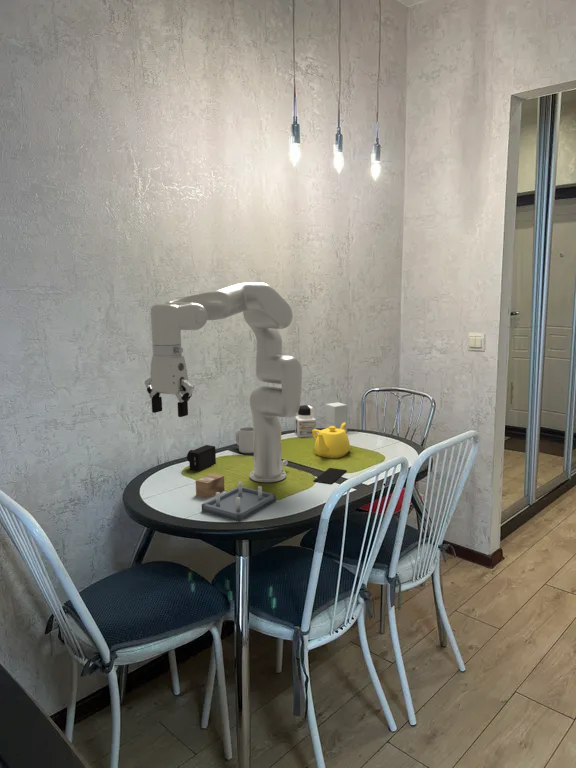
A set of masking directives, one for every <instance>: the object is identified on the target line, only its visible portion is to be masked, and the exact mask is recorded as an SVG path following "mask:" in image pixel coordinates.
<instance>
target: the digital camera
mask: <svg viewBox="0 0 576 768" xmlns="http://www.w3.org/2000/svg"><path fill="white" fill-rule="evenodd" d="M216 459H217V455H216V446H215V445H209V444H205V445H203V446H200V447H197V448H196V449H190V450H188V452H187V454H186V460H187V462H189V471H192V472H196V473H197V472H199V473H200V472H202V471H203V470H206V469H208V468H210V467H213V466H215V465H217V460H216ZM214 464H215V465H214ZM212 465H213V466H212Z"/></svg>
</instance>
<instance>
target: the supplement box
mask: <svg viewBox="0 0 576 768" xmlns="http://www.w3.org/2000/svg"><path fill="white" fill-rule="evenodd" d="M344 422H345V423H346V424H345V431H346V433H347V432H348V404H345V403H342V402H339V401H337V402H330V403H325V429H326V428H329V427H330V426H335V427H336V428H337V429H340V427H341V425H342V423H344Z"/></svg>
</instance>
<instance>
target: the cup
mask: <svg viewBox="0 0 576 768" xmlns="http://www.w3.org/2000/svg"><path fill="white" fill-rule="evenodd" d="M235 442H236V444H237V446H238V451H239V452H240V453H242V454H254V437H253V426H244V427H240V428H239V429H238V430H237V431H236V432H235Z"/></svg>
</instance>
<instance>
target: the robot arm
mask: <svg viewBox="0 0 576 768" xmlns="http://www.w3.org/2000/svg"><path fill="white" fill-rule="evenodd" d="M241 313H242V314H243V319H244V321H245V323H246V324H247V325H248V326H249V328H250V329H251V330H252V332H253V334H254V337H255V339H256V357H255V358H256V359H255V375H256V378H257V379H258V381H261V382H263V383H268V384H270V383H271V384H278V385H279V384H280V385H281V387H277V386H266V385H265V386H264V385H263V386H258V387H256V388H254V389H253V390H252V391H251V393H250V396H249V406H250V411H251V417H252V423H253V425H252V427H253V437H254V453H253V470H252V471H250V473H249V479H251V480H252V481H255V482H260V483H275V482H280V481H282V480H285V479H286V477H287V472H286V471H285V470H283V468H284V467H285V466H287V465H288V463H289V462H288V460H287V459H283V460H282V426H281V422H280V419H279V418H284V419H285V418H286V419H287V418H288V419H291V418H294V417H296V416H297V415H298V411H299V408H300V406H301V401H302V400H301V399H302V397H301V396H302V382H303V381H302V379H303V370H302V365H301V362H300V361H299V359H298V358H296V356H292V355H283V339H282V335H281V334H280V331H279V330H282V329H287V328H288V327H289V326H290V325H291V323H292V321H293V311H292V308H291V306H290V304H289V303H288V302H287V300H286V299H284V297H283V296H282V295H280V294H279V292H278V291H276V289H274V288H273V287H272V286H271V285H269V284H267V283H265V282H240V283H235V284H232V285H230V286H227V287H223V288H220V289H219V288H218V289H217V290H212V291H206V292H201V293H199V294H194V295H188V296H183V297H180V298H179V297H178V298H176V299H173V300H169V301H166V302H165V303H159V304H153V305H152V306H151V308H150V326H151V329H150V330H151V346H152V349H151V350H152V356H151V361H150V377H149V378H147V379H145V381H144V384H145V387H146V392H147V393H148V395H149V398H150V399H151V412H152V413H153V414H156V413H159V412H162V411H163V401H162V398H163V397H162V396H161V395H162V394H163V395H165V394H167V395H172V396H173V395H174V396H175V397H176V398H177V400H178V401H177V416H178V417H179V418H184V417H187V416H188V415H189V407H188V406H189V405H188V404H189V403H188V402H189V401H190V398H191V397H192V396H193V392H194V391H195V386H194V385H193V384H192V383H190V381H189V377H188V368H187V364H186V359H185V356H183V355H182V353H183V352H184V348H183V347H182V333H181V332H182V330H183V331H197V330H200V329H202V328H204V326H205V325H206V324H207V322H208V321H218V320H223V319H227V318H229V317H232V316H235V315H237V314H241Z"/></svg>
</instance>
